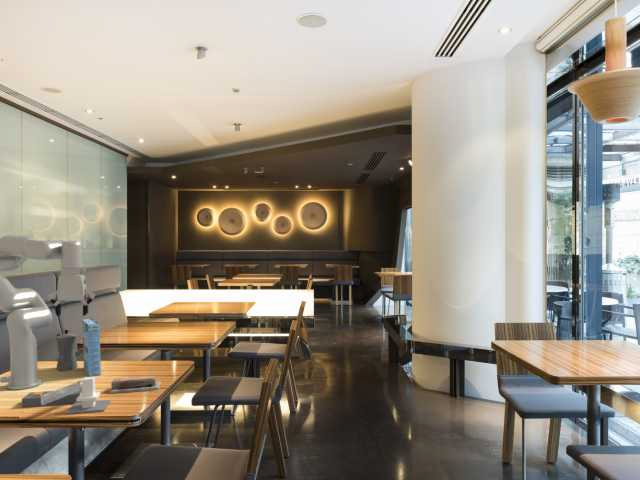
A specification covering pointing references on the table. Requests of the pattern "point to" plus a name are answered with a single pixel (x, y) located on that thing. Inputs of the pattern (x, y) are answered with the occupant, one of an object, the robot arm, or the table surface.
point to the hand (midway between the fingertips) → (71, 315)
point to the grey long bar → (61, 393)
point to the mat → (78, 408)
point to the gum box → (91, 347)
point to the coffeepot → (66, 351)
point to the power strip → (35, 400)
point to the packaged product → (134, 384)
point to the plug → (88, 393)
